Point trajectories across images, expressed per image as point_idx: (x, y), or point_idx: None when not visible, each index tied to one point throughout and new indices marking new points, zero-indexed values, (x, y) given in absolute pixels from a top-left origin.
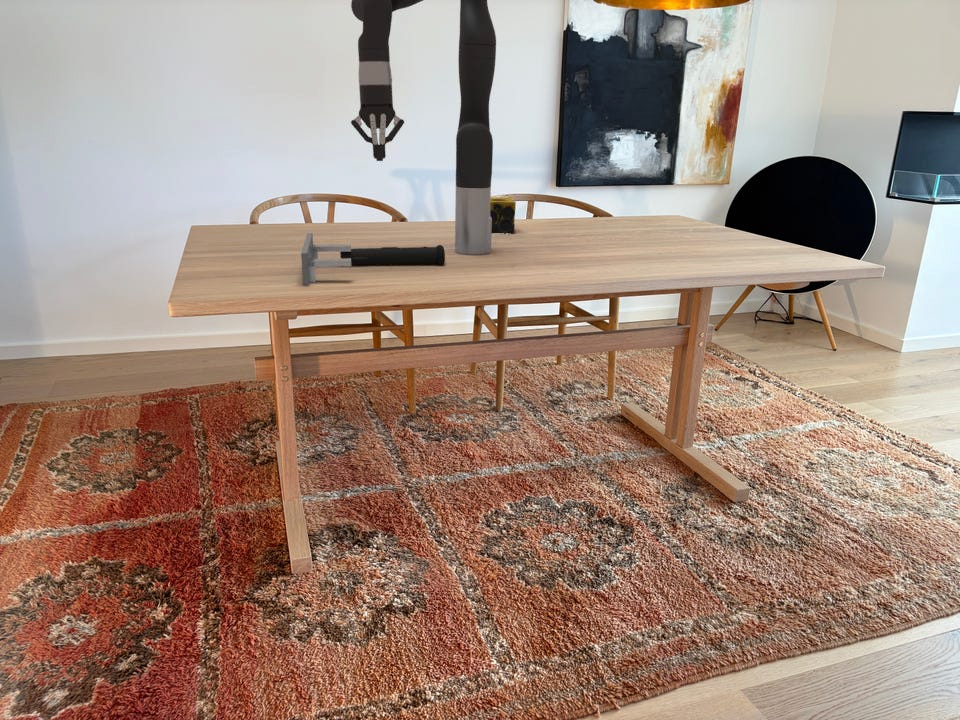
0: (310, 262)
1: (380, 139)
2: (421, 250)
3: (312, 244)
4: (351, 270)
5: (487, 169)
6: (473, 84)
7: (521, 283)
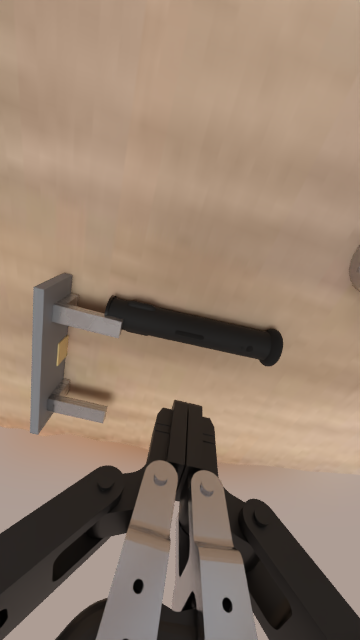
0: (50, 410)
1: (178, 539)
2: (238, 354)
3: (52, 303)
4: (124, 337)
5: None
6: None
7: (299, 454)
